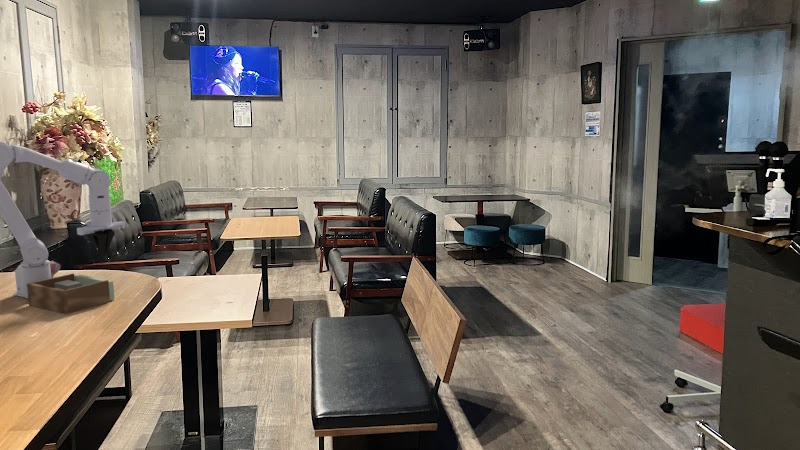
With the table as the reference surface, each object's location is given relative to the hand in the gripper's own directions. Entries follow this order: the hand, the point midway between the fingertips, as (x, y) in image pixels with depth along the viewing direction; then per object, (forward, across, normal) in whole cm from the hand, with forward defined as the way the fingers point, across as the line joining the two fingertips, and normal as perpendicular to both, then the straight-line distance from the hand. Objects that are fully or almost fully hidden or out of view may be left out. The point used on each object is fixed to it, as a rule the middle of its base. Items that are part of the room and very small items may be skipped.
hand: (103, 255), depth 189 cm
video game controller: (+10, -5, +23) cm, 26 cm away
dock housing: (+9, -16, -8) cm, 20 cm away
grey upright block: (+9, -17, -8) cm, 21 cm away
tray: (+9, -15, -8) cm, 19 cm away
